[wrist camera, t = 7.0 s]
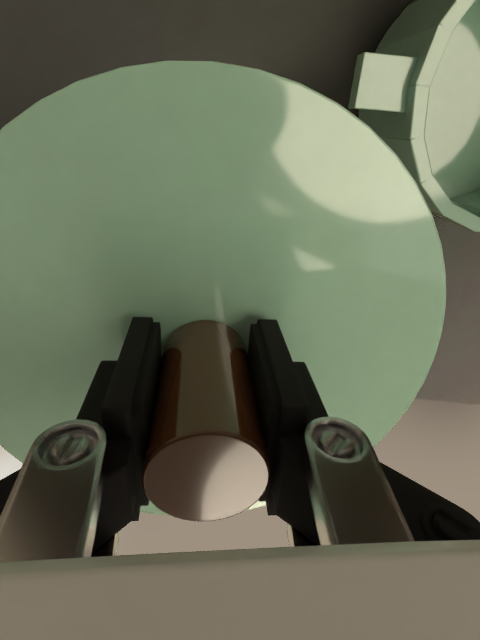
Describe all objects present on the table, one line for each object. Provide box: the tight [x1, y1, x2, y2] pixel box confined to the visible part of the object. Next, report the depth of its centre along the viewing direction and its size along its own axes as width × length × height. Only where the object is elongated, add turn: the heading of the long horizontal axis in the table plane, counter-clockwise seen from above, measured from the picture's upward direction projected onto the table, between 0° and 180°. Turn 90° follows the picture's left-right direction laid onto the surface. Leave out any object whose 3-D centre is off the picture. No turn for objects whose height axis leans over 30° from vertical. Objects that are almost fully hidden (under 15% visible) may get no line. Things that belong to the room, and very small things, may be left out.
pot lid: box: [0, 60, 446, 521], centre depth 10 cm, size 15×15×6 cm
